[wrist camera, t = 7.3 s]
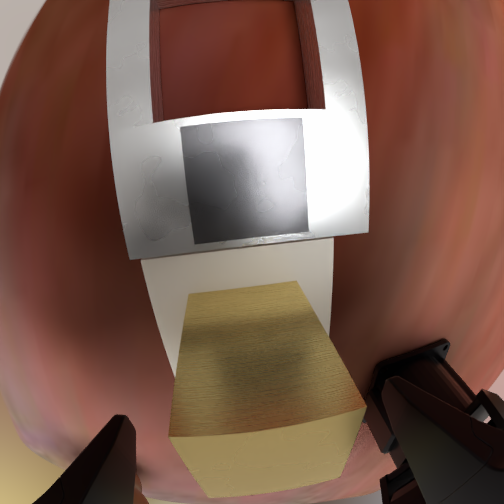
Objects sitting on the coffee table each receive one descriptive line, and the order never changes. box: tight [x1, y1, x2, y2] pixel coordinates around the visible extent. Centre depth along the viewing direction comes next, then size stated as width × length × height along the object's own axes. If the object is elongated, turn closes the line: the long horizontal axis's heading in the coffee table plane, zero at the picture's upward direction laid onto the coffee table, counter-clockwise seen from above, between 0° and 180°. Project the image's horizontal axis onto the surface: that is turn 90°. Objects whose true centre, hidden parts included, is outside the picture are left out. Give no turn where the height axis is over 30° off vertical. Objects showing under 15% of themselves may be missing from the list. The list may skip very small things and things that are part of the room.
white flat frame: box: [106, 0, 369, 260], centre depth 9 cm, size 9×13×2 cm
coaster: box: [141, 236, 334, 376], centre depth 13 cm, size 8×8×1 cm
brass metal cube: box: [168, 280, 367, 498], centre depth 9 cm, size 5×5×7 cm
